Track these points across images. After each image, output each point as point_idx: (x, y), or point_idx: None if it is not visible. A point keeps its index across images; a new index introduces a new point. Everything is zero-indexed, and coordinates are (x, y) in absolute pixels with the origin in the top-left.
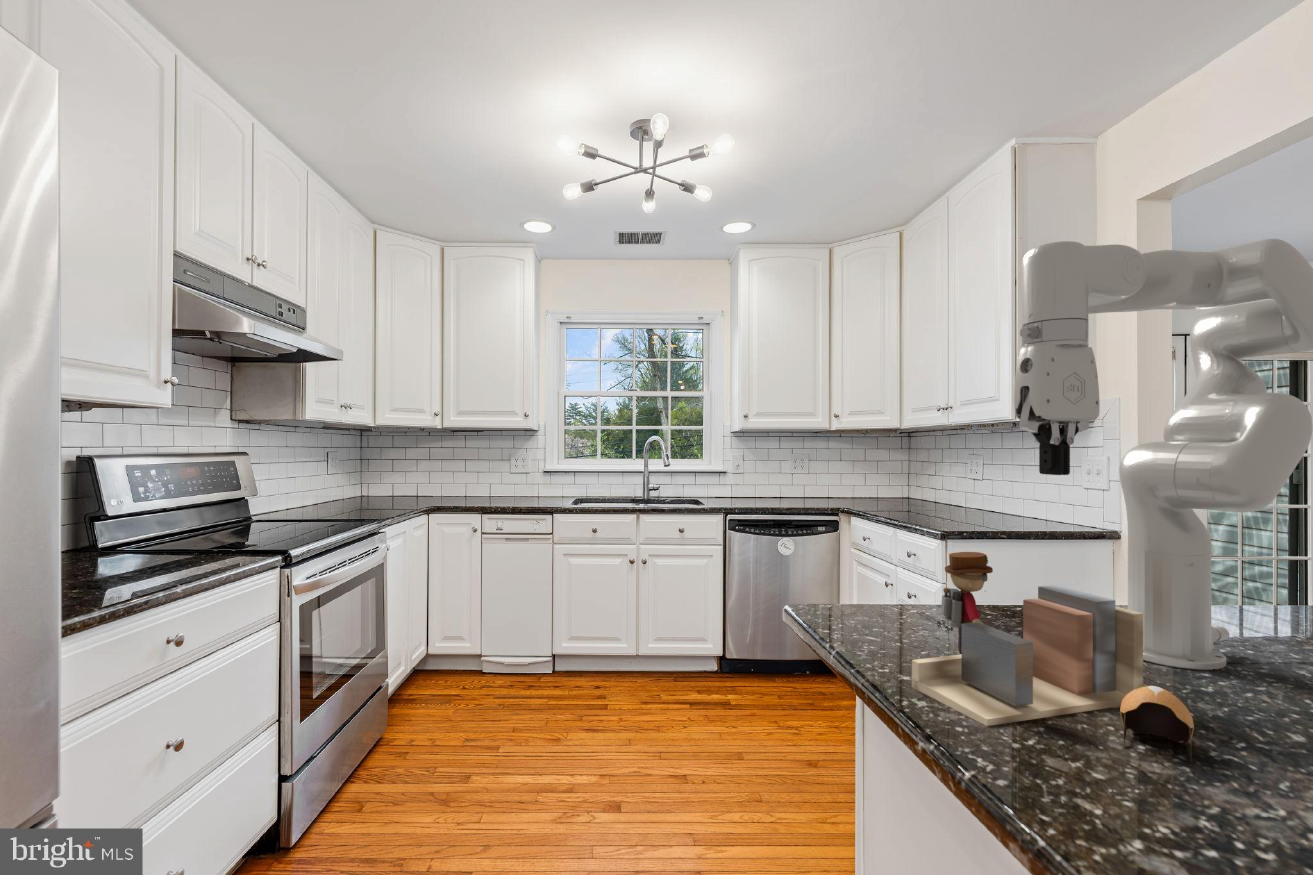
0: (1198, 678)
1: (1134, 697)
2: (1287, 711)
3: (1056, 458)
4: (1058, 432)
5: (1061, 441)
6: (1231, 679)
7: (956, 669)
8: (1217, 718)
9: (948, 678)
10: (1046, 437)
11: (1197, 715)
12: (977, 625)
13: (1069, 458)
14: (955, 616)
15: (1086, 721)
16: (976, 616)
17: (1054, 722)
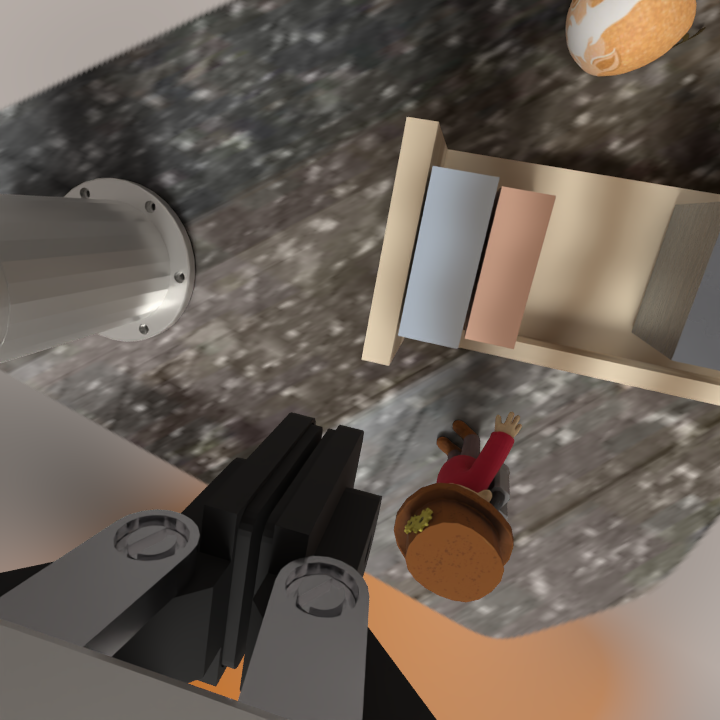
0: (199, 174)
1: (681, 13)
2: (227, 23)
3: (334, 504)
4: (272, 642)
5: (215, 582)
6: (152, 145)
7: (651, 366)
8: (368, 59)
9: (668, 364)
10: (391, 672)
11: (385, 82)
12: (702, 344)
13: (259, 451)
14: (508, 477)
15: (591, 154)
16: (507, 437)
17: (649, 177)
